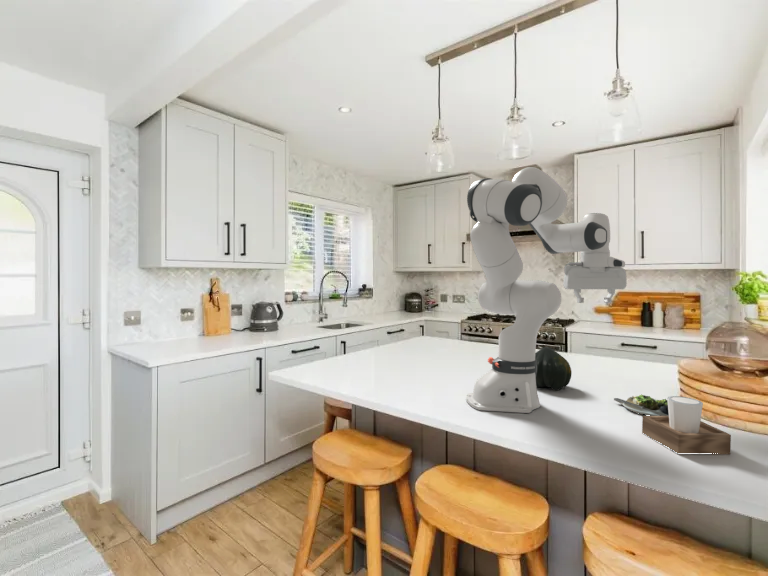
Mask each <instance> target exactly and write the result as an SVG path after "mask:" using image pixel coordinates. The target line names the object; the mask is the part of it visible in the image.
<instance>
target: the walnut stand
mask: <svg viewBox="0 0 768 576" xmlns="http://www.w3.org/2000/svg"><path fill="white" fill-rule="evenodd" d="M641 421H642V422H641V423H642V424H641V425H642V426H641V427H642V428H641V434H643V433H644V434H646V435H647V436H646V435H645V436H646V437H648V436H649V437H651V438H652V439H651V438H650V439H651V440H653V439H654V440H656V441H658V442H660V443H662V444H663V445H665V446H667V447H669V448H670V449H672V450H674V451H675V452H677V453H712V454H711V455H731V448H732V447H731V445H732V444H731V443H732V442H731V441H732V434H731V433H727V432H725V431H723V430H721V429H719V428H717V427H715V426H712V425H710V424H708V423H705V422H704V421H701V420H700V427H699V432H698V433H685V432H680V431H677V430H674V429H672V428H671V427H670V425H669V416H645V415H642V420H641ZM644 434H643V435H644ZM649 437H648V438H649ZM654 440H653V441H654ZM656 441H655V442H656ZM658 442H657V443H658ZM663 445H662V446H663ZM713 453H714V454H713ZM715 453H716V454H715ZM717 453H718V454H717Z"/></svg>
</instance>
